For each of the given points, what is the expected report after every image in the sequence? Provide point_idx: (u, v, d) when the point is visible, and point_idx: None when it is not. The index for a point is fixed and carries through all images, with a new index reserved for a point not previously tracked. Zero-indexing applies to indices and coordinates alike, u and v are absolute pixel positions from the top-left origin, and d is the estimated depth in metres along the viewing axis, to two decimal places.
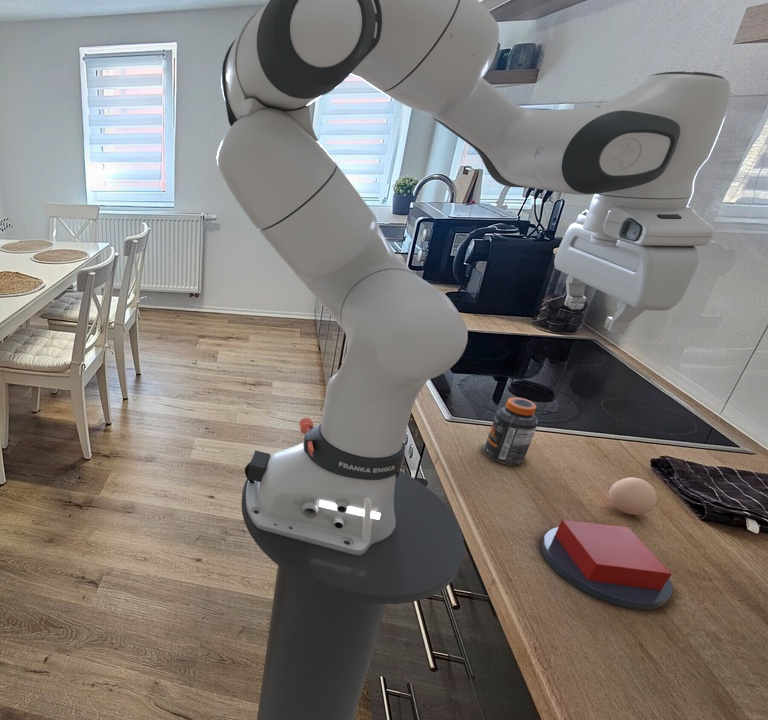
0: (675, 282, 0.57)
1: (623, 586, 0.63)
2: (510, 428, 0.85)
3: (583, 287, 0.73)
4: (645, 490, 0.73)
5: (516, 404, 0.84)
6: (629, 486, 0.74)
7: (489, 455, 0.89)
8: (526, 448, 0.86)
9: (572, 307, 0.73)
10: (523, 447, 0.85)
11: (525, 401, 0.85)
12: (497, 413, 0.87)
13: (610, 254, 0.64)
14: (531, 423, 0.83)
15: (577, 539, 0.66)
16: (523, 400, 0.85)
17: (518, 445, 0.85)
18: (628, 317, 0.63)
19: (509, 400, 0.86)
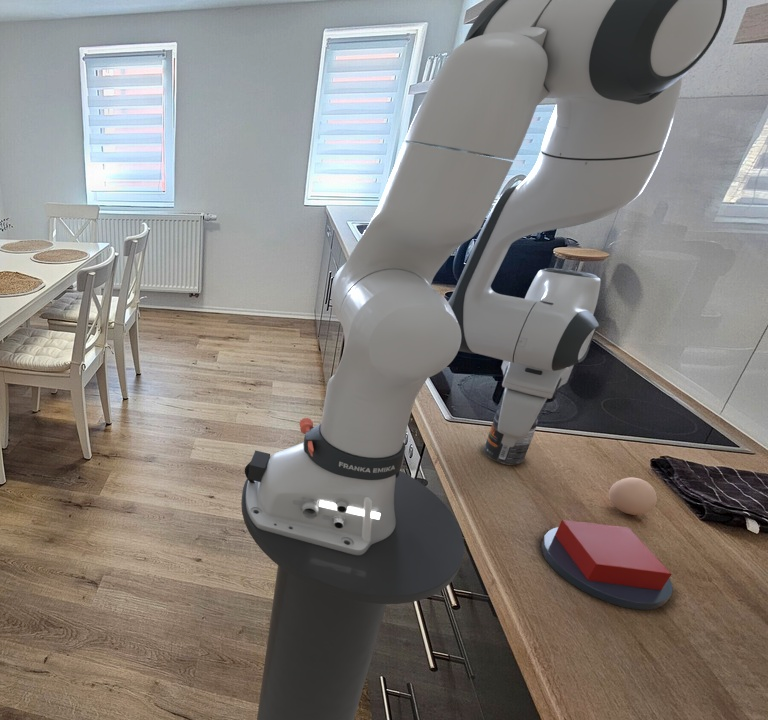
0: (520, 419, 0.77)
1: (623, 586, 0.63)
2: None
3: None
4: (645, 490, 0.73)
5: None
6: (629, 486, 0.74)
7: (489, 455, 0.89)
8: (526, 448, 0.86)
9: None
10: (523, 447, 0.85)
11: None
12: (497, 413, 0.87)
13: None
14: None
15: (577, 539, 0.66)
16: None
17: (518, 445, 0.85)
18: None
19: None
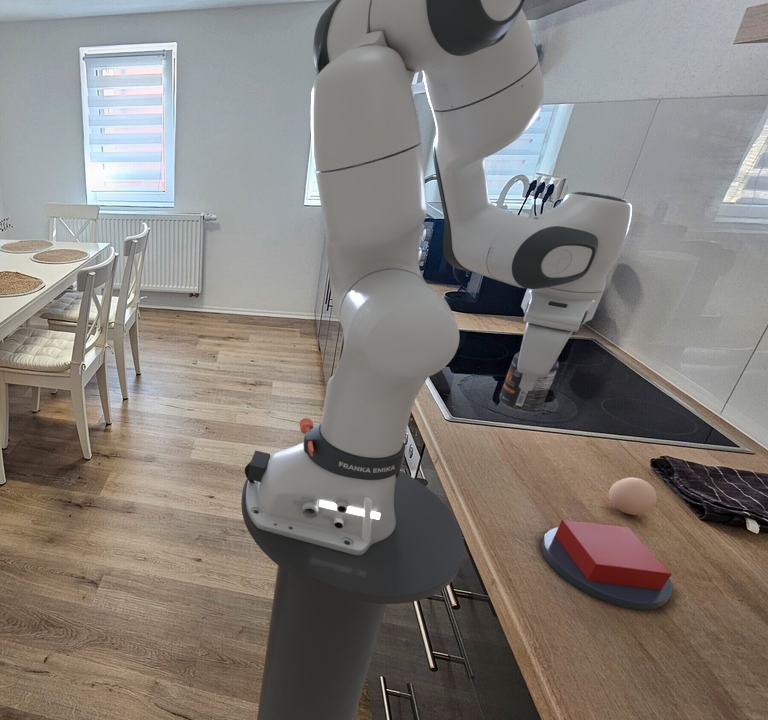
0: (543, 355, 0.72)
1: (623, 586, 0.63)
2: None
3: None
4: (645, 490, 0.73)
5: None
6: (629, 486, 0.74)
7: (505, 403, 0.84)
8: (545, 393, 0.81)
9: None
10: (542, 392, 0.81)
11: None
12: (515, 356, 0.82)
13: None
14: None
15: (577, 539, 0.66)
16: None
17: (537, 389, 0.80)
18: (530, 377, 0.78)
19: None
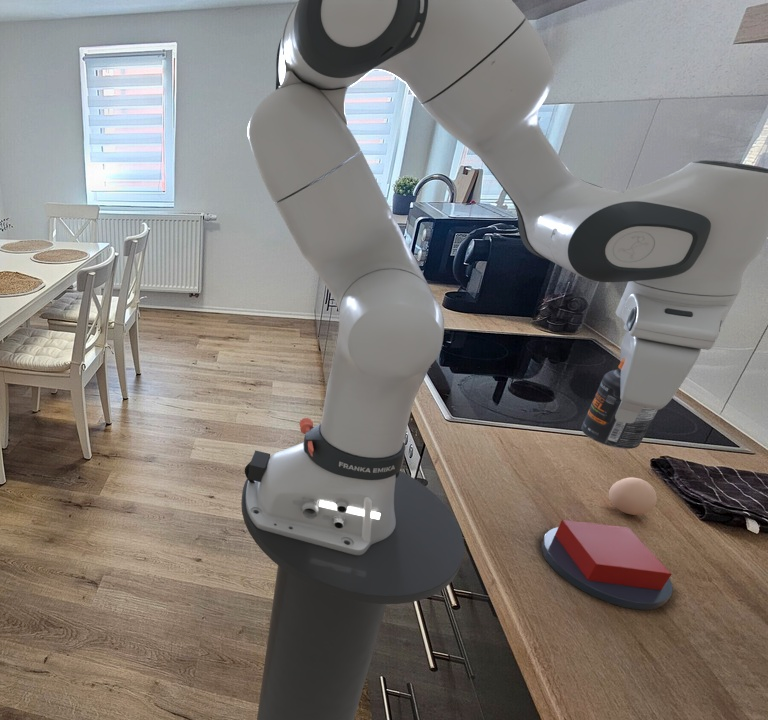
0: (661, 381, 0.54)
1: (623, 586, 0.63)
2: None
3: None
4: (645, 490, 0.73)
5: None
6: (629, 486, 0.74)
7: (592, 436, 0.66)
8: (648, 425, 0.63)
9: None
10: (645, 424, 0.62)
11: None
12: (606, 378, 0.64)
13: None
14: None
15: (577, 539, 0.66)
16: None
17: (638, 420, 0.62)
18: (633, 407, 0.60)
19: None
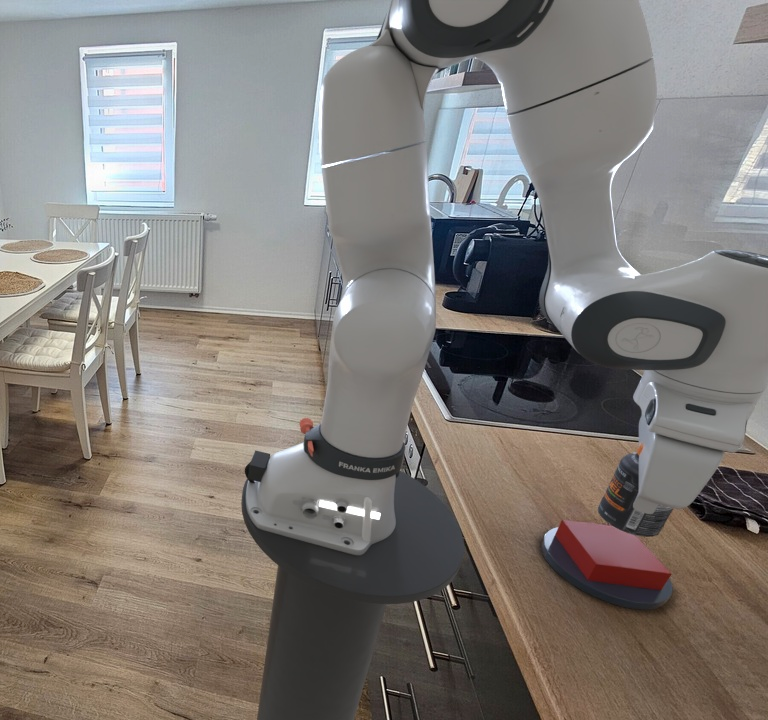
0: (682, 482, 0.51)
1: (623, 586, 0.63)
2: None
3: None
4: None
5: None
6: None
7: (609, 521, 0.63)
8: (668, 514, 0.60)
9: None
10: (665, 513, 0.59)
11: None
12: (624, 463, 0.61)
13: None
14: None
15: (577, 539, 0.66)
16: None
17: (658, 510, 0.59)
18: None
19: None
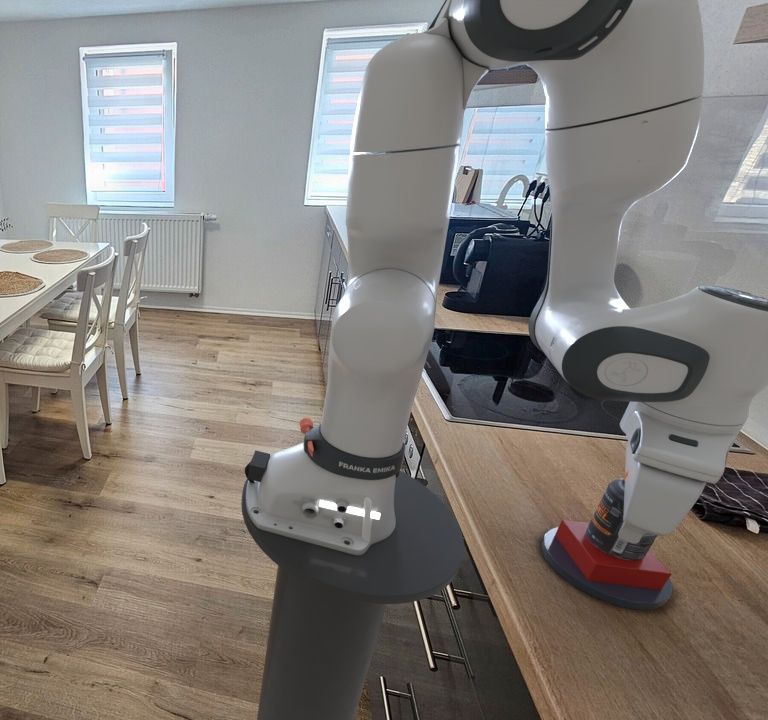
0: (665, 510, 0.53)
1: (623, 586, 0.63)
2: None
3: None
4: None
5: None
6: None
7: (596, 544, 0.65)
8: (653, 539, 0.62)
9: None
10: (650, 538, 0.61)
11: None
12: (611, 489, 0.63)
13: None
14: None
15: (577, 539, 0.66)
16: None
17: (644, 535, 0.61)
18: (636, 529, 0.58)
19: None
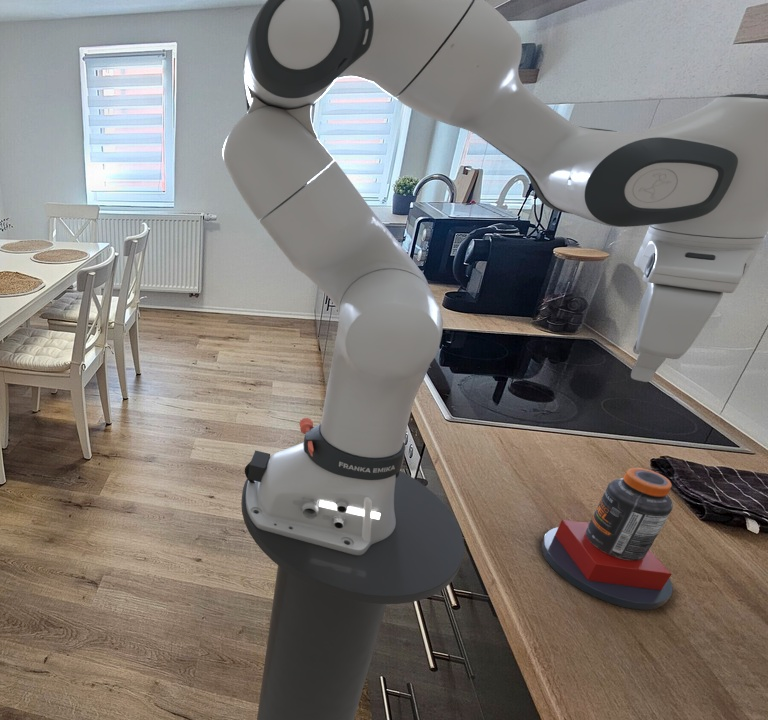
0: (679, 327, 0.52)
1: (623, 586, 0.63)
2: (633, 512, 0.61)
3: None
4: None
5: (642, 480, 0.60)
6: None
7: (596, 544, 0.65)
8: (653, 539, 0.62)
9: (637, 352, 0.65)
10: (650, 538, 0.61)
11: (653, 474, 0.61)
12: (611, 489, 0.63)
13: None
14: (665, 507, 0.59)
15: (577, 539, 0.66)
16: (650, 472, 0.61)
17: (644, 535, 0.61)
18: (650, 363, 0.57)
19: (630, 473, 0.62)
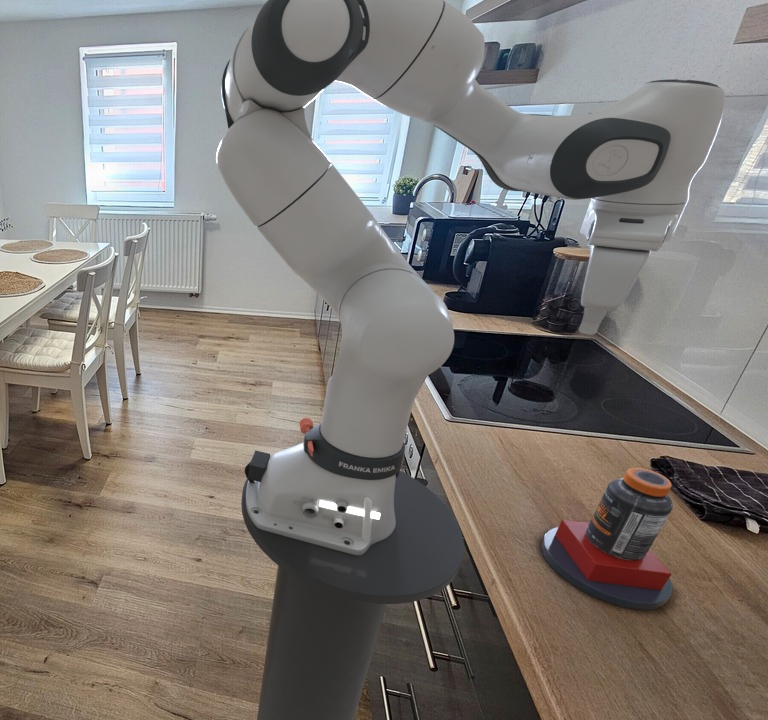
0: (615, 283, 0.60)
1: (623, 586, 0.63)
2: (633, 512, 0.61)
3: None
4: None
5: (642, 480, 0.60)
6: None
7: (596, 544, 0.65)
8: (653, 539, 0.62)
9: None
10: (650, 538, 0.61)
11: (653, 474, 0.61)
12: (610, 488, 0.63)
13: None
14: (665, 507, 0.59)
15: (577, 539, 0.66)
16: (650, 472, 0.61)
17: (643, 535, 0.61)
18: (594, 318, 0.65)
19: (630, 472, 0.62)
